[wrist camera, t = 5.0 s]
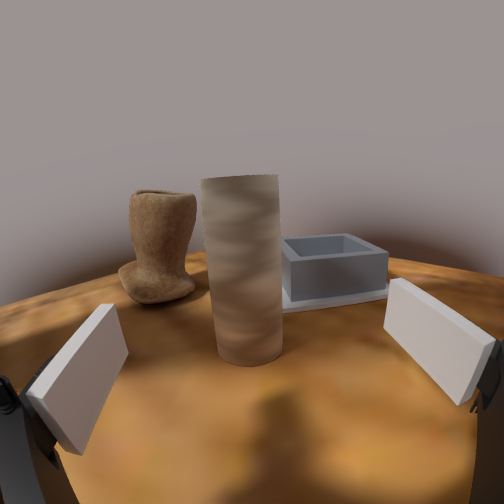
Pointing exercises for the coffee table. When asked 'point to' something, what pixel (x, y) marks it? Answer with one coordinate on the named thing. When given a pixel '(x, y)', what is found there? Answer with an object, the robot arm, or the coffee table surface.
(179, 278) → the tan boot
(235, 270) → the peg
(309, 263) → the well
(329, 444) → the coffee table surface
